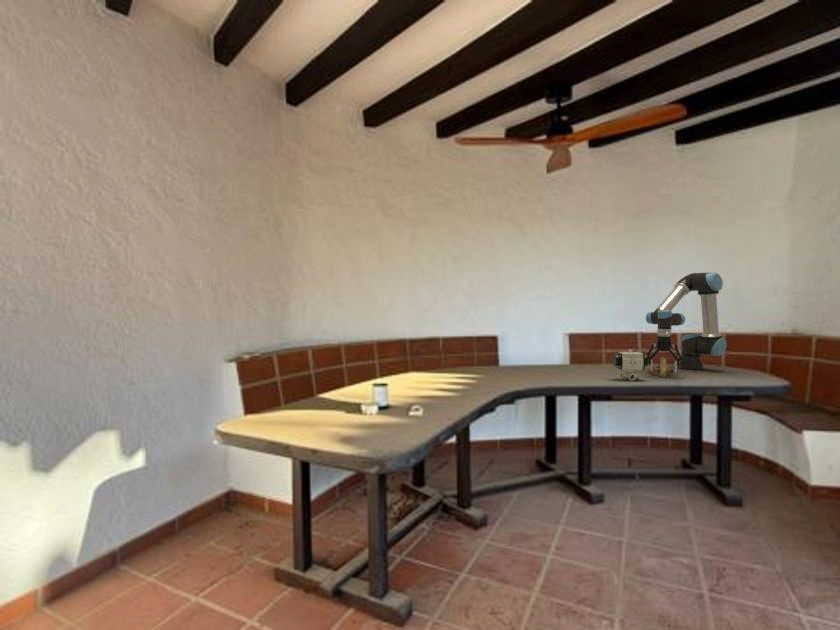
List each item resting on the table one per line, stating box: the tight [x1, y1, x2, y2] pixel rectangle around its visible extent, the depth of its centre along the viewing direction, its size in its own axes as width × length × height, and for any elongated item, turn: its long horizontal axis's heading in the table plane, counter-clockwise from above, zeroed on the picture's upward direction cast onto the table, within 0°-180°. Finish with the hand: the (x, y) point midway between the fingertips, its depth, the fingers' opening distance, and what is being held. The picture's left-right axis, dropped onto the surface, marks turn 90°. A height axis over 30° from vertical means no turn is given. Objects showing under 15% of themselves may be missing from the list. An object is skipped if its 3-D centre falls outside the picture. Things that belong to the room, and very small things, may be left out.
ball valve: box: [612, 349, 649, 382], centre depth 281 cm, size 18×8×18 cm, turn 86°
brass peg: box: [660, 357, 668, 379], centre depth 290 cm, size 3×3×12 cm
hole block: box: [648, 364, 674, 377], centre depth 304 cm, size 12×16×4 cm
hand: (663, 371), depth 290 cm, fingers open, 12 cm apart
